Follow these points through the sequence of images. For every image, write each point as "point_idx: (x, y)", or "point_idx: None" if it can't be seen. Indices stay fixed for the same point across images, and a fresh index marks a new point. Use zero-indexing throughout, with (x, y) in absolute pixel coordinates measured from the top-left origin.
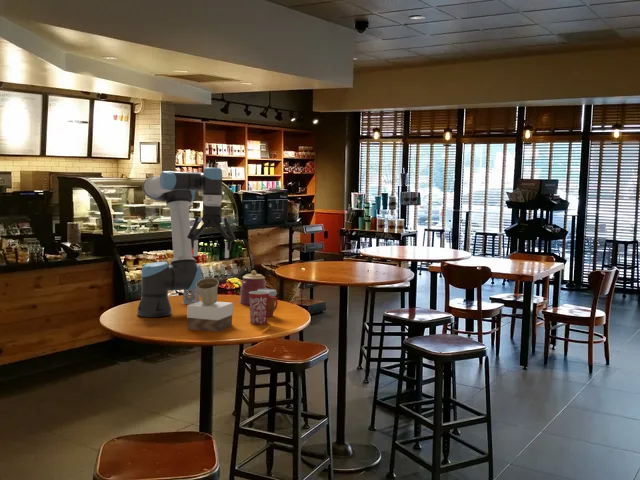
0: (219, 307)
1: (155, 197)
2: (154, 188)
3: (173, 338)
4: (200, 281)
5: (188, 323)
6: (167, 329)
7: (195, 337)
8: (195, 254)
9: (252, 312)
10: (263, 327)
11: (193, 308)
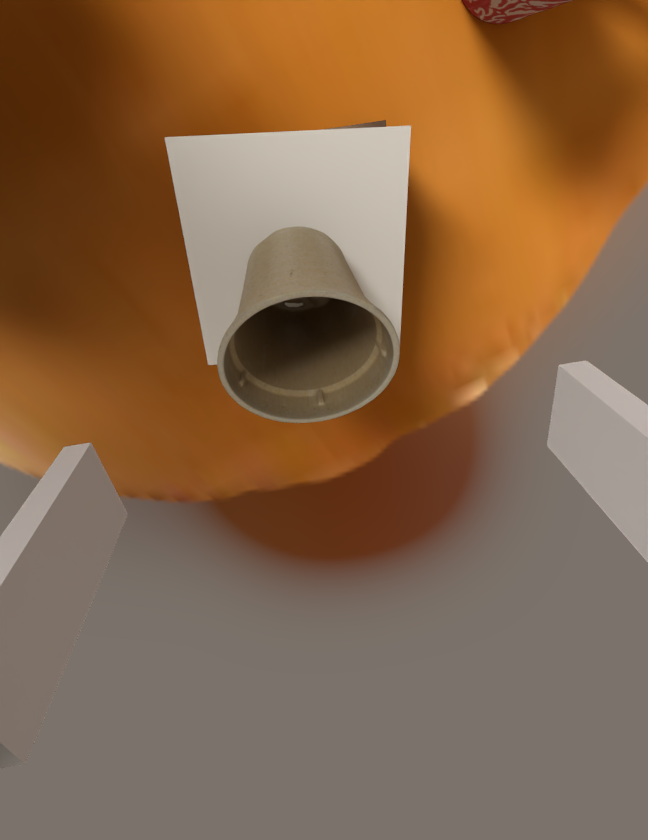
0: (397, 331)
1: None
2: None
3: (284, 470)
4: (226, 345)
5: None
6: (165, 371)
7: (343, 428)
8: (118, 529)
9: (506, 6)
10: (559, 95)
11: None
